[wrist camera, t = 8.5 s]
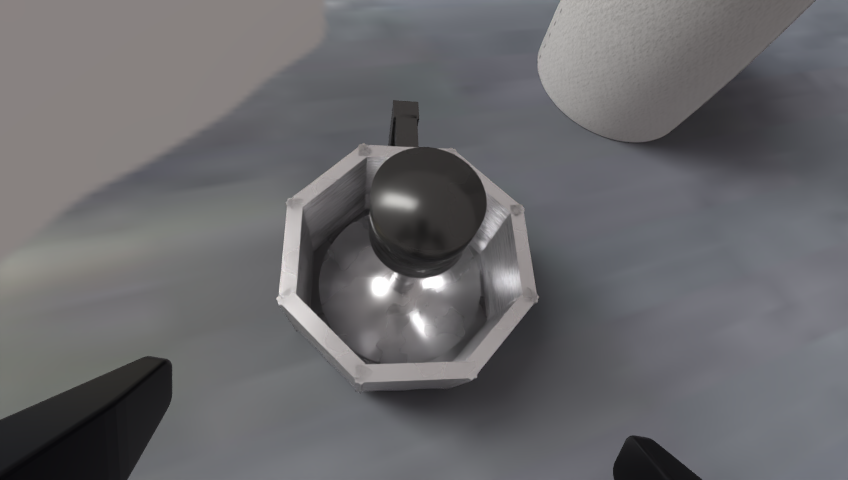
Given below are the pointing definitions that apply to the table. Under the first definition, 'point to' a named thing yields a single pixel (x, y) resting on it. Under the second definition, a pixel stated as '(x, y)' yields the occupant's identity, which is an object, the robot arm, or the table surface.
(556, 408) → the table surface
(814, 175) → the table surface
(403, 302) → the silver black coffee tamper
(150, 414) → the robot arm
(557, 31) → the toilet paper roll
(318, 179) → the octagonal open box
